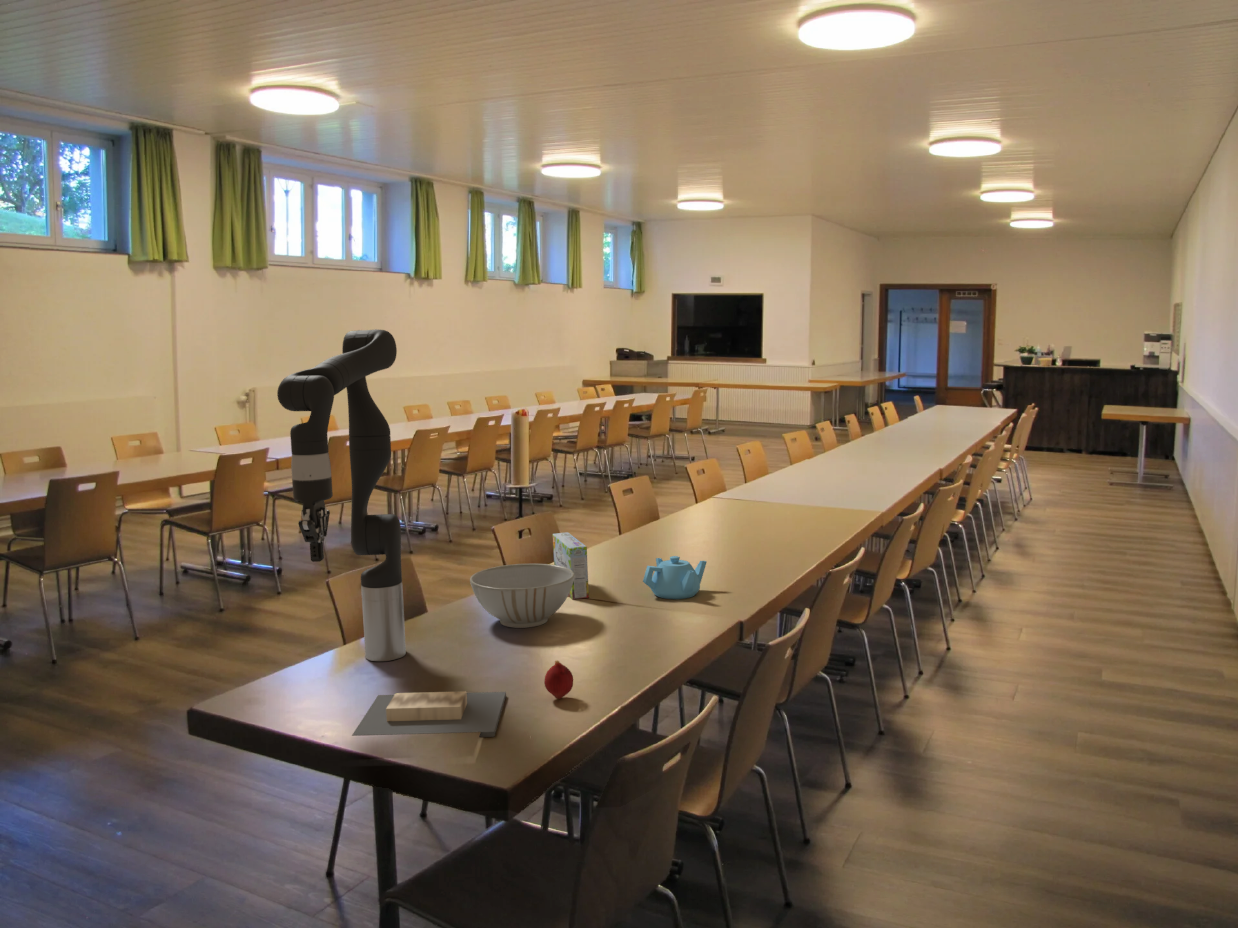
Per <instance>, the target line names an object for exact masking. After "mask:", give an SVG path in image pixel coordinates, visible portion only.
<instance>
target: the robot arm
mask: <svg viewBox="0 0 1238 928" xmlns="http://www.w3.org/2000/svg"><path fill="white" fill-rule="evenodd" d="M341 351H342V353H339V354H337V355H334V356H331V357H328V358H326V359H325V360H323V361H322V362H320V363H318V364H317V365H315V366H314V367H312V368H307V369H304V370H300V371H297V372H294V373H291V374H289V375H287V376H285V377H284V378H283V379H282V380H281V382H280V383H279V386H278V388H277V392H276V393H277V400H278V402H279V404H280V405H281V406H282V408H284V409H286V410H287V411H290V412H310V414H309V417H308V420H307V421H306V422H301V423H298V424H295V425H293V426H292V427H291V429H290V432H289V435H290V447H291V448H290V449H291V450H290V451H291V462H290V463H291V464H290V466H291V467H290V469H291V481H292V482H291V483H292V498H293V500H294V501H295V502H297V503H298V502H301V503H302V510H301V519H302V520H298V524H297V525H298V527H299V530H300V532H301V534H302V537H303V540H304V542H305V543H307V544H309V552H310V553H309V554H310V561H311V562H313V563H314V562H322V561H323V560H324V559H325V555H324V553H325V552H324V541H325V538H326V537H327V535H328V527H329V520H330V516H331V515H330V514H331V512H330V510H329V509H328V508H327V507H326V502H325V501H327V500H330V499H332V498H333V496H334V495H333V494H334V493H333V480H332V479H333V478H332V477H333V476H332V465H331V463H332V462H331V460H330V453H329V438H328V430H329V424H330V419H331V413H332V410H333V405H334V398H335V396H336V395H338V394H339V393H341V392H342V391H343V390H345V389H346V394H347V395H346V396H347V407H348V408H347V409H348V414H347V415H348V444H349V445H348V446H349V447H348V448H349V450H348V451H349V461H350V462H349V464H350V477H351V479H350V480H351V508H350V509H351V510H350V511H351V514H350V516H351V517H350V539H351V546H352V548H351V549H352V551H353V553H355V555H358V556H379V555H380V556H383V555H384V556H385V560H384V561H382V562H380V563H379V564H377V565H374V566H372V567H370V568H368V569H366V570H364V571H362V573H360V591H361V603H362V604H361V605H362V606H361V607H362V621H363V623H362V624H363V625H362V626H363V636H364V638H363V639H364V640H363V641H364V655H365V656H364V657H365V659H367V660H368V661H372V662H388V661H393V660H398V659H400V658H403V657H404V656H405V655H406V654H407V650H406V648H407V647H406V634H405V633H406V629H405V628H406V627H405V612H404V611H405V608H404V593H403V577H402V576H403V575H402V550H401V549H402V529H401V522H400V519H399V517H398V515H396V514H392V513H386V514H385V513H384V514H382V513H381V514H368V505H369V501H370V498H371V495H372V493H373V490H374V489H375V487H376V485H377V483H378V481H379V480H380V478H381V477H382V475H383V474H384V472H385V470H386V469H387V466H388V465H389V463H390V461H391V457H392V442H391V441H392V440H391V439H392V438H391V428H390V425H389V423H388V421H387V419H386V417H385V415H384V414H383V413H382V411H381V410H380V408H379V407H378V406H377V404H376V402H375V401H374V399H373V397H372V396H371V393H370V391H369V387H368V383H367V376H368V377H369V376H370V375H372V374H374V373H377V372H380V371H384V370H386V369H390V368H391V367H392V366H393V365H394V364H395V361H396V359H397V352H398V350H397V343H396V340H395V338H394V336H393V334H392V333H391V332H389V331H388V330H385V329H377V328H376V329H375V328H374V329H361V330H360V329H358V330H351V331H347V332H346V333H345V335H344V337H343V341H342V349H341Z"/></svg>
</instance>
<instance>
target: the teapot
mask: <svg viewBox="0 0 1238 928" xmlns="http://www.w3.org/2000/svg"><path fill="white" fill-rule="evenodd" d="M655 562H656V563H655V564H656V566H654V565H646V569H645V572H644V576H643V579H642V582H643V583H644V584H645V585H646V586H647V587H649V588H650V590H651V592H652V593H653V594H654V595H655V596H657V597H658V598H661V599H666V600H667V599H668V600H683V599H685V600H686V599H689V598H692V597H694V596H695V595H697V594H698V593H699V591H700V588H701V583H702V580H703V576H704V573H705V569H706V567H707V566H706V565H707V560H699V563H697V565H696V567H695V568H694V567H693V566H692V564H691V563H690V562H689V561H687V560H684V559H680V556H679V555H673V556H670V557H669V559H667V560H663V558H661V557H657V558H655Z"/></svg>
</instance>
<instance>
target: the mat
mask: <svg viewBox="0 0 1238 928" xmlns="http://www.w3.org/2000/svg"><path fill="white" fill-rule="evenodd" d="M394 695H395V694H378V695H377V696H376V697H375V698H374V700H373V702H372V703H371V705H370V707H369V709H368V710H367V712H366V713H365V714H364V716H363V718H362V719H361V720H360V722H359V723H358V725H357V727H356V728H355V730H354V731H353V732H352V735H351V736H382V735H383V736H384V735H385V736H389V735H416V734H417V735H423V734H427V735H428V734H430V735H431V734H457V733H459V734H460V733H462V734H463V733H466V734H467V733H479V736H478V737H479V738H490V737H491V738H494V737H495V735H496V734H497V733H496V732H497V729H498V726H499V725H498V724H499V721H500V718H501V716H502V715H501V714H502V712H503V708H504V704H505V701H506V698H507V692H506V691H485V692H484V691H481V692H478V691H477V692H467V705H466V708H465V710H464V713H463V715H462V718H461V719H456V720H419V721H387V715H386V708H387V706H388V705H389V703H390V701H391V700H392V698H393V697H394Z"/></svg>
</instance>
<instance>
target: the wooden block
mask: <svg viewBox="0 0 1238 928" xmlns="http://www.w3.org/2000/svg"><path fill="white" fill-rule="evenodd" d="M467 693H468V692H467V690H465V691H434V692H433V691H430V692H429V691H428V692H426V691H424V692H397V693H394V694H393V695H394V697H393V698H392V700H391V701H390V703H389V705H388V706H387V708H386V715H387V721H419V720H456V719H461V718H462V715H463V713H464V710H465V708H466V705H467Z"/></svg>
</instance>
